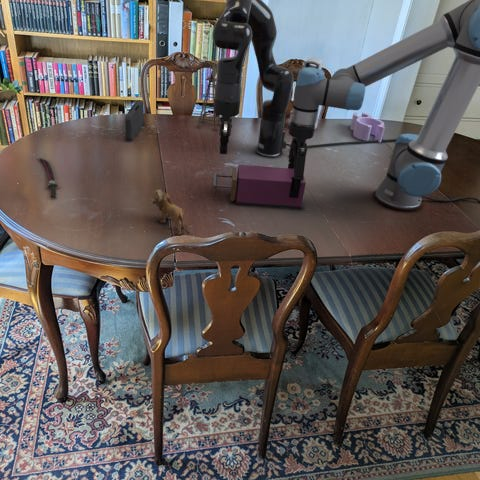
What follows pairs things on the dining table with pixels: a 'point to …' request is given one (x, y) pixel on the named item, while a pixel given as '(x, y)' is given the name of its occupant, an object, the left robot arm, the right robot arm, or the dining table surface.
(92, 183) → the dining table surface
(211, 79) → the miniature windmill
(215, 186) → the drawer
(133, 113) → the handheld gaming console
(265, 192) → the purple rectangular box
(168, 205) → the lion figurine
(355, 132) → the clip
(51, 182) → the sword
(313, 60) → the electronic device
